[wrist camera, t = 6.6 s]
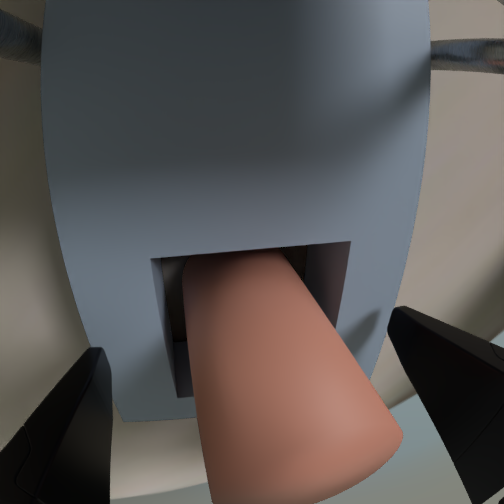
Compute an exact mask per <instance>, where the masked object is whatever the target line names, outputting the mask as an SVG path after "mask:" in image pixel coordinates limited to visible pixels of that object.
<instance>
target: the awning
mask: <svg viewBox="0 0 504 504" xmlns="http://www.w3.org/2000/svg"><path fill="white" fill-rule="evenodd" d="M497 1H499V2H500V3H501V4H503V5H504V0H497ZM42 33H43V29H41V28H39V27H37V26H35V25H33V24H31V23H29V22H27V21H25V20H23V19H20V18H18V17H16V16H14V15H12V14H10V13H8V12H5V11H3V10H1V9H0V58H5V59H10V60H15V61H20V62H25V63H29V64H34V65H38V66H41V50H42ZM430 46H431V70H450V71H470V72H484V73H495V74H504V39H496V38H481V39H453V40H438V41H430Z"/></svg>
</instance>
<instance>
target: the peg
mask: <svg viewBox="0 0 504 504" xmlns="http://www.w3.org/2000/svg"><path fill="white" fill-rule="evenodd" d="M182 288H183V300H184V311H185V322H186V332H187V342H188V351H189V360H190V368H191V376H192V384H193V392H194V399H195V406H196V413H197V420H198V426H199V433H200V439H201V445H202V451H203V457H204V462H205V468H206V473H207V478H208V484H209V489H210V494H211V499H212V502H213V504H314V503H317V502H320V501H323V500H325V499H328V498H330V497H332V496H335V495H337V494H339V493H341V492H343V491H345V490H347V489H349V488H351V487H353V486H354V485H356V484H358V483H359V482H361V481H363V480H364V479H366V478H367V477H369V476H370V475H371V474H373V473H374V472H375V471H377V470H378V469H379V468H380V467H382V466H383V465H384V464H385V463H386V462H387V461H388V460H389V459H390V458H391V457H392V456H393V455H394V453H395V452H396V451H397V449H398V448H399V446H400V444H401V442H402V439H403V432H402V430H401V429H400V427H399V425H398V424H397V422H396V421H395V419H394V418H393V416H392V414H391V413H390V411H389V410H388V408H387V407H386V405H385V404H384V402H383V401H382V399H381V398H380V396H379V394H378V393H377V391H376V390H375V388H374V387H373V385H372V384H371V382H370V381H369V379H368V378H367V376H366V375H365V373H364V372H363V370H362V369H361V367H360V366H359V364H358V363H357V361H356V360H355V358H354V357H353V355H352V354H351V352H350V351H349V349H348V348H347V346H346V345H345V343H344V342H343V340H342V339H341V337H340V336H339V334H338V333H337V331H336V330H335V328H334V327H333V325H332V324H331V322H330V321H329V320H328V318H327V317H326V315H325V314H324V312H323V311H322V309H321V308H320V306H319V305H318V303H317V302H316V300H315V299H314V298H313V296H312V295H311V293H310V292H309V290H308V289H307V287H306V286H305V284H304V283H303V282H302V280H301V279H300V277H299V276H298V274H297V273H296V272H295V270H294V269H293V267H292V266H291V264H290V263H289V261H288V260H287V259H286V257H285V256H284V254H283V253H282V251H281V250H280V249H279V247H275V248H264V249H252V250H241V251H229V252H218V253H207V254H196V255H190V257H189V259H188V260H187V262H186V265H185V267H184V271H183V276H182Z"/></svg>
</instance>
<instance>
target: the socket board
mask: <svg viewBox="0 0 504 504" xmlns="http://www.w3.org/2000/svg"><path fill="white" fill-rule="evenodd" d="M430 76H431V46H430V20H429V6H428V0H46V4H45V12H44V22H43V33H42V50H41V111H42V128H43V141H44V151H45V161H46V169H47V176H48V183H49V190H50V196H51V202H52V208H53V213H54V218H55V223H56V228H57V233H58V238H59V242H60V246H61V251H62V255H63V259H64V263H65V267H66V271H67V274H68V278H69V281H70V285H71V288H72V292H73V295H74V299H75V302H76V305H77V308H78V311H79V314H80V317H81V320H82V323H83V326H84V329H85V332H86V335H87V338H88V340H89V343H90V346H91V347H102V348H103V349H104V351H105V353H106V356H107V359H108V362H109V364H110V367H111V372H112V399H113V401H114V403H115V405H116V407H117V409H118V411H119V413H120V416H121V418H122V420H123V422H139V421H158V420H173V419H184V418H195V417H197V413H196V406H195V399H194V392H193V384H192V376H191V368H190V360H189V351H188V342H187V341H184V342H173V337H172V331H171V326H170V320H169V314H168V307H167V301H166V294H165V288H164V281H163V274H162V266H161V258H162V257H173V256H184V255H196V254H207V253H218V252H229V251H241V250H252V249H264V248H275V247H287V246H298V245H308V247H307V258H306V268H305V277H304V284H305V286H306V287H307V289H308V290H309V292H310V293H311V295H312V296H313V298H314V299H315V300H316V302H317V303H318V305H319V306H320V308H321V309H322V311H323V312H324V314H325V315H326V317H327V318H328V320H329V321H330V322H331V324H332V325H333V327H334V328H335V330H336V331H337V333H338V334H339V336H340V337H341V339H342V340H343V342H344V343H345V345H346V346H347V348H348V349H349V351H350V352H351V354H352V355H353V357H354V358H355V360H356V361H357V363H358V364H359V366H360V367H361V369H362V370H363V372H364V373H365V375H366V376H367V378H368V379H369V380H370V378H371V375H372V373H373V370H374V367H375V364H376V362H377V359H378V356H379V353H380V350H381V347H382V344H383V341H384V338H385V335H386V332H387V326H388V323H389V319H390V316H391V313H392V310H393V309H394V306H395V302H396V299H397V295H398V291H399V288H400V284H401V280H402V276H403V272H404V268H405V264H406V260H407V256H408V251H409V247H410V242H411V238H412V233H413V228H414V223H415V218H416V212H417V207H418V201H419V195H420V188H421V182H422V175H423V167H424V159H425V151H426V141H427V131H428V119H429V103H430Z"/></svg>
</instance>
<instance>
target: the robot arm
mask: <svg viewBox="0 0 504 504" xmlns="http://www.w3.org/2000/svg"><path fill="white" fill-rule="evenodd" d="M387 332H388V335H389V338H390V340H391V342H392V344H393V346H394V348H395V351H396V353H397V355H398V357H399V360H400V362H401V364H402V366H403V368H404V370H405V372H406V374H407V376H408V378H409V379H410V381H411V383H412V385H413V386H414V388H415V390H416V392H417V394H418V396H419V397H420V399H421V401H422V403H423V405H424V406H425V408H426V410H427V412H428V414H429V416H430V418H431V420H432V422H433V423H434V425H435V427H436V429H437V431H438V433H439V435H440V437H441V439H442V441H443V443H444V445H445V447H446V449H447V451H448V453H449V455H450V457H451V459H452V461H453V462H454V466H455V468H456V470H457V472H458V474H459V476H460V478H461V480H462V482H463V485H464V487H465V489H466V491H467V493H468V496H469V498H470V500H471V503H472V504H482V503H484V502H485V501H486V500H488V499H489V498H490V497H492V496H493V495H494V494H496V493H497V492H498V491H500V490H501V489H502V488H503V487H504V348H502V347H500V346H498V345H495V344H493V343H491V342H490V343H489V342H488V341H486V340H484V339H481V338H479V337H477V336H474V335H472V334H470V333H467V332H465V331H463V330H460V329H458V328H456V327H454V326H451V325H449V324H447V323H444V322H442V321H440V320H437V319H435V318H433V317H430V316H428V315H425V314H423V313H421V312H418V311H416V310H414V309H411V308H409V307H407V306H399V307H395V308H394V309H393V310H392V313H391V316H390V319H389V323H388V326H387ZM112 425H113V410H112V372H111V367H110V364H109V362H108V359H107V356H106V353H105V351H104V349H103V348H102V347H89V348H88V349H87V350H86V351H85V352H84V353H83V354H82V356H81V357H80V358H79V359H78V360H77V361H76V362H75V364H74V365H73V366H72V367H71V368H70V369H69V370H68V372H67V373H66V374H65V375H64V376H63V377H62V379H61V380H60V381H59V382H58V383H57V384H56V386H55V387H54V388H53V389H52V390H51V391H50V393H49V394H48V395H47V396H46V397H45V399H44V400H43V401H42V402H41V403H40V405H39V406H38V407H37V408H36V409H35V411H34V412H33V413H32V414H31V416H30V417H29V418H28V419H27V421H26V422H25V423H24V426H22V427H21V428H20V429H19V430H18V432H17V433H16V434H15V435H14V437H13V438H12V439H11V440H10V441H9V443H8V444H7V445H6V446H5V447H4V448H3V449H2V450H1V452H0V504H110V462H111V441H112ZM498 504H504V497H503V498H502V499H501V500H500V501H499V503H498Z"/></svg>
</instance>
